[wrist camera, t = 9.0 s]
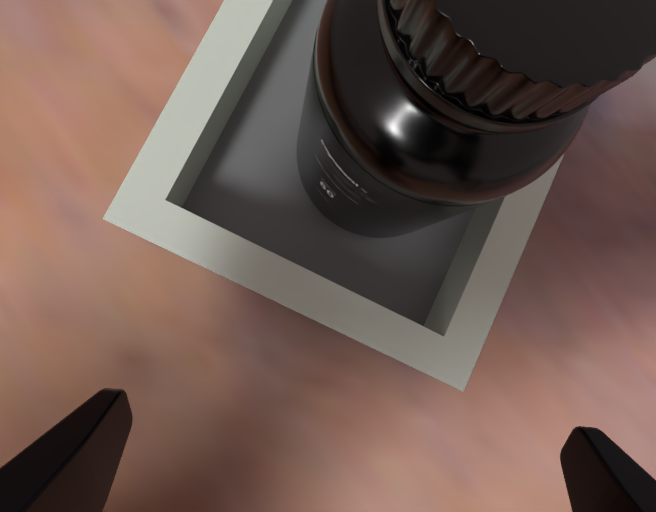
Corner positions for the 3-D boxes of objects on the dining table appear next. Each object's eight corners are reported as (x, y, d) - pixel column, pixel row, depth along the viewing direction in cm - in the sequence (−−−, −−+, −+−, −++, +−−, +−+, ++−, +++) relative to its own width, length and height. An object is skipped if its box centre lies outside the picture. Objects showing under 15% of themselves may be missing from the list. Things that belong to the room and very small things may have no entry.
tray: (433, 375, 19) (463, 391, 16) (130, 230, 18) (102, 219, 15) (553, 98, 21) (600, 67, 18) (284, -51, 19) (286, -113, 16)
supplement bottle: (266, 121, 18) (257, -193, 6) (407, 57, 19) (630, -318, 7) (342, 268, 18) (478, 234, 6) (479, 196, 19) (821, 49, 7)
